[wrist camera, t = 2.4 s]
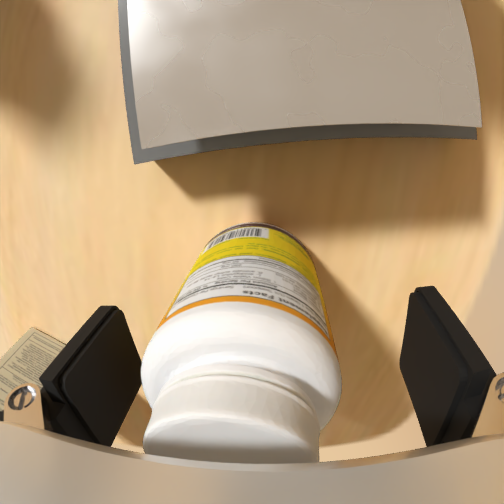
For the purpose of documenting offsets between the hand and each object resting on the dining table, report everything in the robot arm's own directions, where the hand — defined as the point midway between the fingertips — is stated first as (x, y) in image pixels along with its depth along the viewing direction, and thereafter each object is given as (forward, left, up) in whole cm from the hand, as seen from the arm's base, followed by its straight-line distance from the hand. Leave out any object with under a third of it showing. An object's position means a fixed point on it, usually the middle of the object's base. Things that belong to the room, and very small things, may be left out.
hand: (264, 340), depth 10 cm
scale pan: (+11, -2, -3) cm, 11 cm away
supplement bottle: (0, +1, -6) cm, 6 cm away
